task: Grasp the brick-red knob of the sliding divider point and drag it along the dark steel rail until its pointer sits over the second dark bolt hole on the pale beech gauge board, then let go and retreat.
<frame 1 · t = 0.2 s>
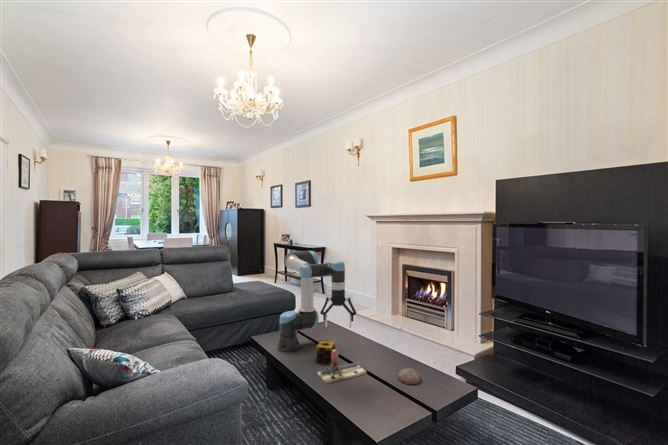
hand: (338, 326, 181), 26 cm above the table, fingers open, 13 cm apart
gauge board: (342, 373, 181), on the table
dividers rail: (339, 371, 184), resting on gauge board
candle: (325, 360, 199), on the table
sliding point: (337, 362, 180), point 7 cm above the table, slide at 0.0 cm
decorative stone: (409, 380, 175), on the table
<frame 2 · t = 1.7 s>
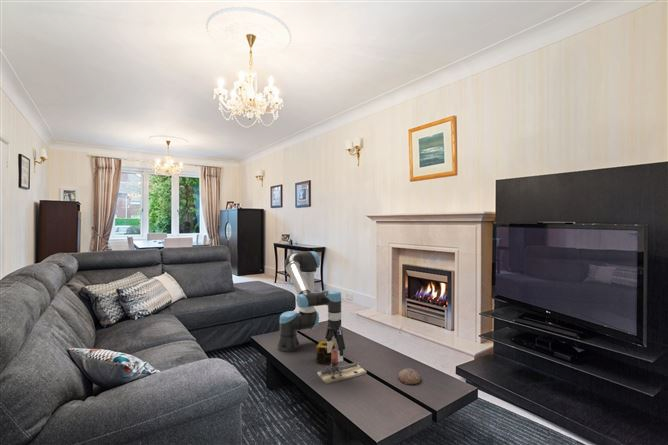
hand: (334, 356, 182), 9 cm above the table, fingers open, 13 cm apart
nothing on the table moved.
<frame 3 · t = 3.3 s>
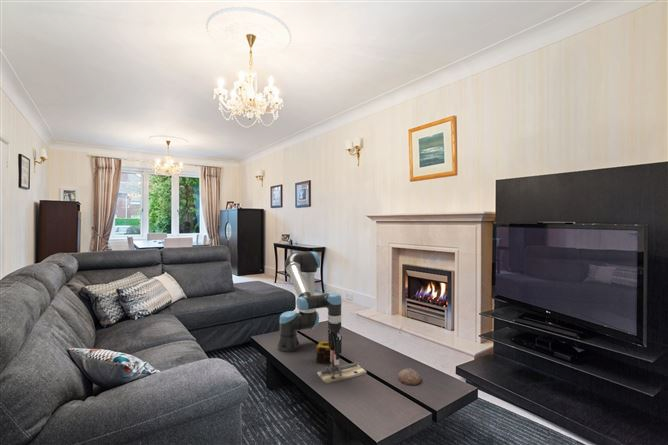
hand: (334, 362, 183), 6 cm above the table, fingers closed on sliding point, 4 cm apart
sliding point: (337, 362, 180), point 7 cm above the table, slide at 0.0 cm, touching gripper
everything else where it was.
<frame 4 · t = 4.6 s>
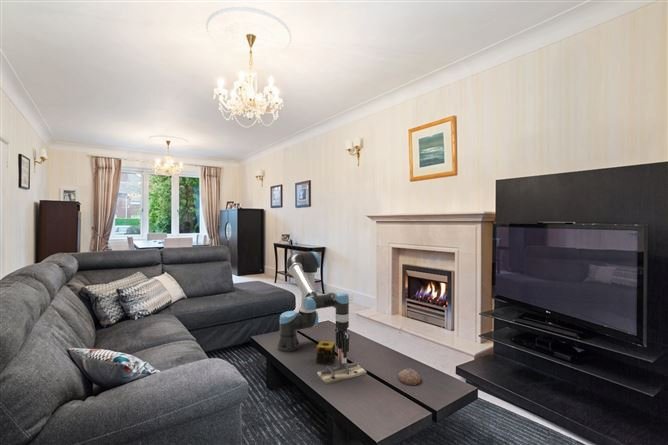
hand: (342, 361, 185), 6 cm above the table, fingers closed on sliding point, 4 cm apart
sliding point: (344, 360, 182), point 7 cm above the table, slide at 4.8 cm, touching gripper
everything else where it was.
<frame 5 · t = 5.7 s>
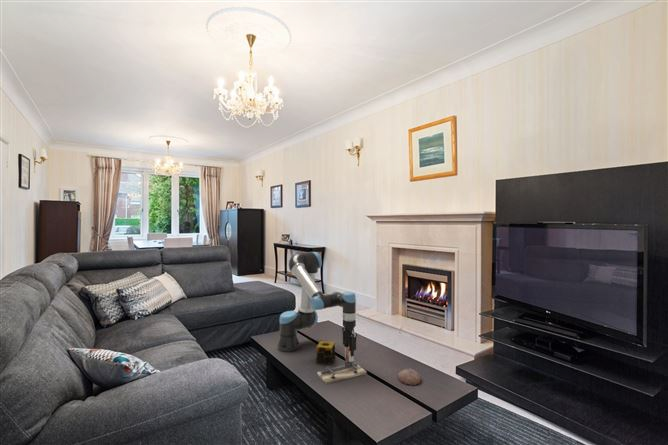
hand: (349, 359, 187), 6 cm above the table, fingers closed on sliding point, 4 cm apart
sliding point: (351, 359, 184), point 7 cm above the table, slide at 9.4 cm, touching gripper
everything else where it was.
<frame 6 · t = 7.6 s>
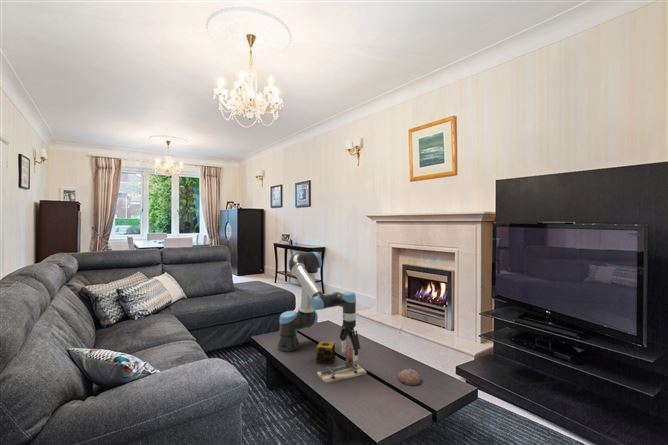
hand: (349, 356, 187), 8 cm above the table, fingers open, 13 cm apart
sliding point: (352, 358, 184), point 7 cm above the table, slide at 9.5 cm
everything else where it was.
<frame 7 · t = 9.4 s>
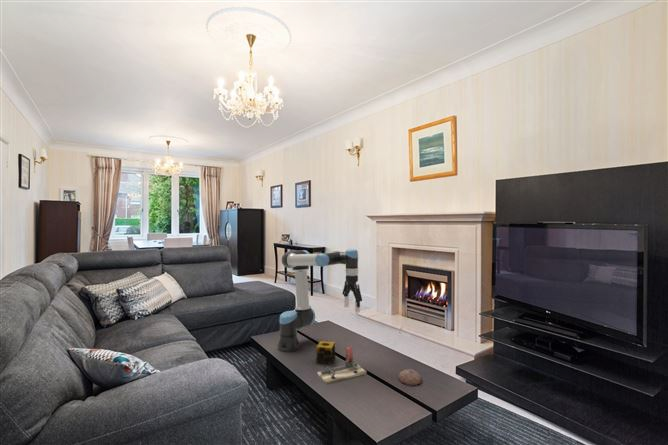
hand: (351, 309, 198), 32 cm above the table, fingers open, 13 cm apart
nothing on the table moved.
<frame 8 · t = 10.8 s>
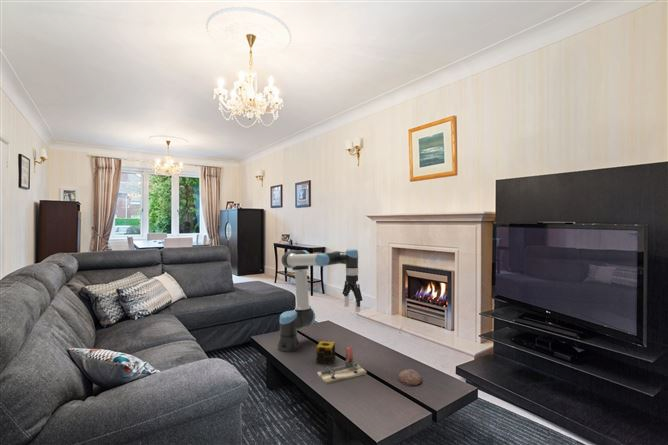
hand: (352, 309, 198), 32 cm above the table, fingers open, 13 cm apart
nothing on the table moved.
at the end: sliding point slide at 9.5 cm; the gripper is holding nothing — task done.
